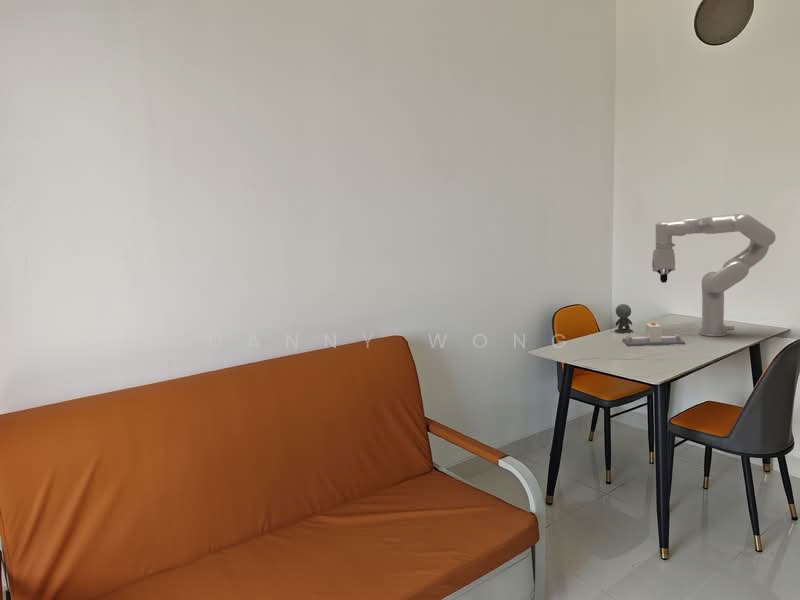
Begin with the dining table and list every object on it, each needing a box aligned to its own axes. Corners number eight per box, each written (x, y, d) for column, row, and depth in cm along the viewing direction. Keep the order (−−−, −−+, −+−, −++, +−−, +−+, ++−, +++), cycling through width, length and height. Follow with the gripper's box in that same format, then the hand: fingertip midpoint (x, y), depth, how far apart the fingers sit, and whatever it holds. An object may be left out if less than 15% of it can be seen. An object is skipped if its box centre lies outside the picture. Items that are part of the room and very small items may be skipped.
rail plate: (677, 339, 274) (677, 332, 273) (685, 344, 263) (685, 337, 262) (622, 340, 278) (622, 334, 278) (627, 346, 268) (627, 339, 267)
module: (656, 338, 274) (656, 320, 273) (661, 342, 266) (661, 323, 265) (645, 338, 275) (645, 321, 273) (650, 342, 267) (650, 324, 266)
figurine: (629, 329, 302) (629, 302, 300) (635, 333, 293) (634, 305, 290) (613, 330, 303) (612, 303, 301) (618, 334, 293) (618, 306, 291)
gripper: (677, 245, 282) (677, 280, 285) (646, 247, 285) (646, 282, 288) (681, 246, 275) (681, 282, 278) (650, 248, 278) (650, 284, 280)
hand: (663, 282), depth 283 cm, fingers closed
